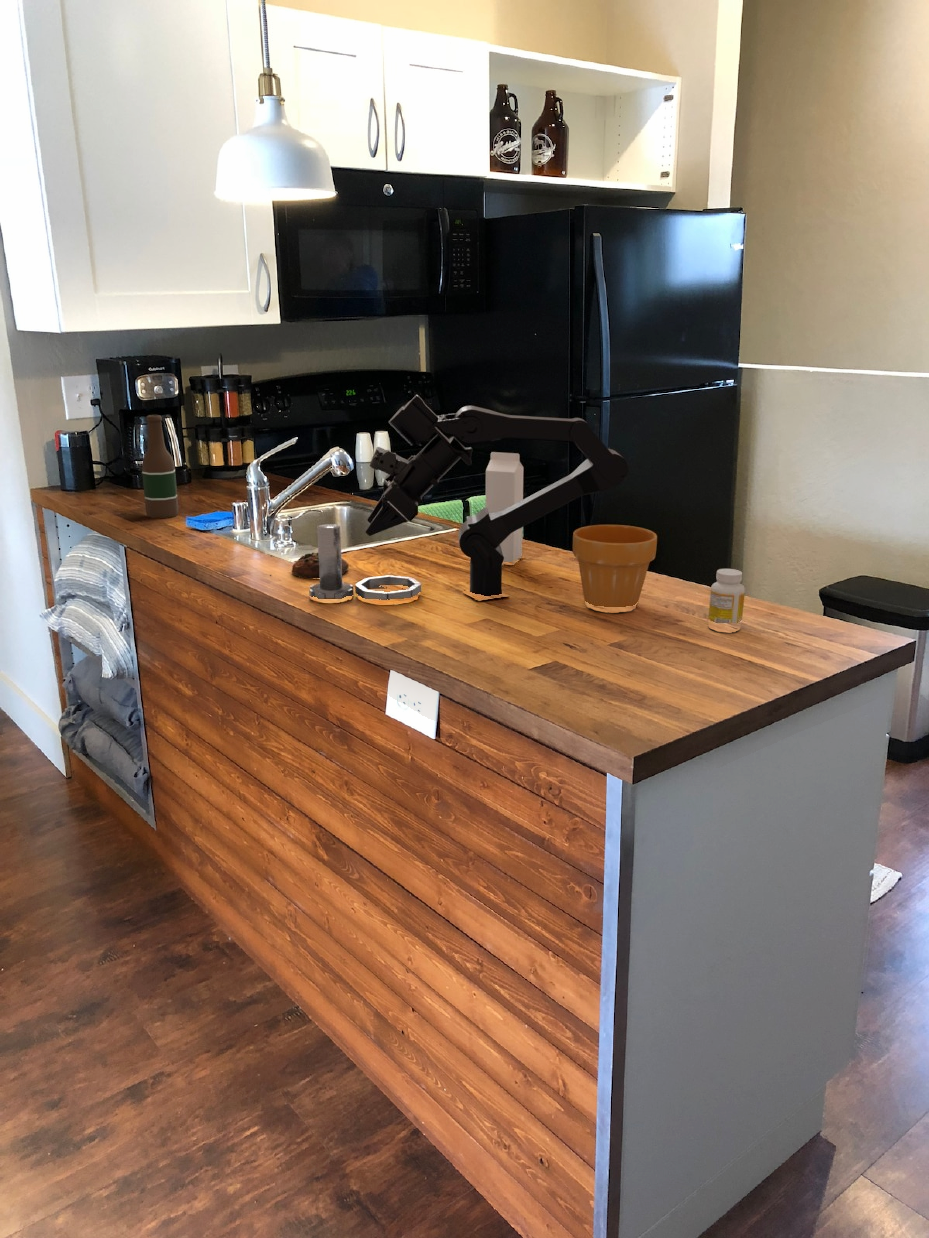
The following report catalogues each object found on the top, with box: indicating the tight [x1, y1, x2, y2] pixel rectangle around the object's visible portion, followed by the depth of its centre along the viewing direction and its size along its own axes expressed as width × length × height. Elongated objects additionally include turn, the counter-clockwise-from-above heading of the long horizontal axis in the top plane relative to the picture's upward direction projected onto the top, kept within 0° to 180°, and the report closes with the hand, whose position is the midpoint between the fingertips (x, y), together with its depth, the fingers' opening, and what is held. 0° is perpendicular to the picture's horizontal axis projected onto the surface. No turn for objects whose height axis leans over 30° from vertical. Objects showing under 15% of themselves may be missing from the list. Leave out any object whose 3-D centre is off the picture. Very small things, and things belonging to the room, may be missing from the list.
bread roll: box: [291, 552, 350, 579], centre depth 196 cm, size 11×11×5 cm
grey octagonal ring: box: [354, 574, 422, 600], centre depth 181 cm, size 11×11×2 cm
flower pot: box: [572, 524, 658, 607], centre depth 174 cm, size 14×14×13 cm
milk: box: [485, 451, 524, 562], centre depth 201 cm, size 6×6×22 cm
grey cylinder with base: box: [308, 523, 354, 599], centre depth 178 cm, size 8×8×13 cm
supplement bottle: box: [707, 568, 746, 623], centre depth 163 cm, size 5×5×10 cm
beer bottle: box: [141, 414, 179, 519], centre depth 242 cm, size 8×8×24 cm
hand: (368, 527), depth 177 cm, fingers open, 9 cm apart
